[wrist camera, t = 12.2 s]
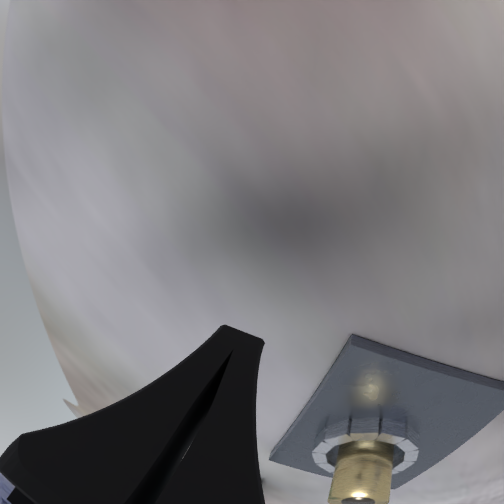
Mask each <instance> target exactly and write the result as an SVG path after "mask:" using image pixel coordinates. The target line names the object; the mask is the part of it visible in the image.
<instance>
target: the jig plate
mask: <svg viewBox="0 0 504 504" xmlns="http://www.w3.org/2000/svg"><path fill="white" fill-rule="evenodd" d="M503 410H504V382H502V381H498V380H495V379H491V378H488V377H484V376H481V375H477V374H474V373H471V372H467V371H464V370H461V369H457V368H454V367H451V366H447V365H444V364H441V363H438V362H435V361H431V360H428V359H425V358H422V357H419V356H416V355H412V354H409V353H406V352H403V351H400V350H397V349H394V348H391V347H388V346H385V345H382V344H379V343H376V342H373V341H370V340H367V339H364V338H361V337H358V336H356V335H353V334H352V335H351V337H350V338H349V340H348V342H347V343H346V345H345V347H344V348H343V350H342V351H341V353H340V355H339V356H338V358H337V359H336V361H335V363H334V364H333V366H332V367H331V369H330V370H329V372H328V374H327V375H326V377H325V378H324V380H323V381H322V383H321V384H320V386H319V387H318V389H317V390H316V392H315V393H314V395H313V396H312V398H311V399H310V400H309V402H308V403H307V405H306V406H305V408H304V409H303V410H302V412H301V413H300V415H299V416H298V417H297V419H296V420H295V422H294V423H293V424H292V426H291V427H290V428H289V430H288V431H287V432H286V434H285V435H284V436H283V438H282V439H281V440H280V442H279V443H278V444H277V446H276V447H275V448H274V449H273V451H272V452H271V454H270V457H269V460H270V461H274V462H277V463H280V464H283V465H286V466H290V467H293V468H297V469H300V470H304V471H307V472H311V473H315V474H319V475H323V476H327V477H331V478H333V475H334V470H335V465H336V460H337V455H338V450H339V445H340V444H344V443H347V442H351V441H366V440H378V441H382V442H387V443H391V444H394V455H393V467H392V478H391V488H390V489H396V488H398V487H400V486H401V485H403V484H405V483H407V482H408V481H410V480H411V479H413V478H415V477H416V476H418V475H420V474H421V473H423V472H424V471H426V470H427V469H429V468H430V467H432V466H433V465H435V464H436V463H438V462H439V461H441V460H442V459H443V458H445V457H446V456H448V455H449V454H450V453H452V452H453V451H454V450H456V449H457V448H459V447H460V446H461V445H462V444H464V443H465V442H466V441H468V440H469V439H470V438H471V437H473V436H474V435H475V434H476V433H478V432H479V431H480V430H481V429H482V428H484V427H485V426H486V425H487V424H488V423H489V422H491V421H492V420H493V419H494V418H495V417H496V416H497V415H498V414H499V413H501V412H502V411H503Z"/></svg>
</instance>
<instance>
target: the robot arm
mask: <svg viewBox="0 0 504 504" xmlns="http://www.w3.org/2000/svg"><path fill="white" fill-rule="evenodd" d="M264 344H265V343H264V341H263V339H261V338H258V337H256V336H253V335H250V334H248V333H245V332H243V331H240V330H237V329H235V328H232V327H230V326H227V325H222V326H220V327H219V328H218V330H217V331H216V332H215V333H214V334H213V335H212V336H211V337H210V338H209V339H208V340H206V341H205V342H204V343H203V344H202V345H201V346H200V347H199V348H198V349H196V350H195V351H194V352H193V353H192V354H190V355H189V356H188V357H187V358H185V359H184V360H183V361H181V362H180V363H179V364H178V365H176V366H175V367H174V368H172V369H171V370H169V371H168V372H167V373H165V374H164V375H162V376H161V377H159V378H158V379H156V380H155V381H153V382H152V383H150V384H149V385H147V386H145V387H144V388H142V389H140V390H139V391H137V392H135V393H133V394H131V395H130V396H128V397H126V398H124V399H122V400H120V401H118V402H116V403H114V404H112V405H110V406H108V407H106V408H103V409H101V410H99V411H96V412H94V413H92V414H89V415H86V416H83V417H81V418H78V419H75V420H72V421H70V422H67V423H64V424H60V425H57V426H53V427H49V428H45V429H42V430H37V431H33V432H28V433H25V434H21V435H20V436H19V437H18V438H17V439H16V440H15V441H14V442H13V443H12V444H11V445H9V447H8V448H7V449H6V451H5V452H4V453H3V454H2V455H1V457H0V504H265V501H264V495H263V489H262V484H261V478H260V470H259V462H258V451H257V437H256V393H257V378H258V370H259V363H260V358H261V353H262V349H263V346H264ZM189 446H190V447H189ZM188 448H189V449H188ZM186 451H187V452H186ZM185 453H186V454H185ZM184 455H185V456H184ZM182 458H183V459H182ZM181 460H182V461H181Z"/></svg>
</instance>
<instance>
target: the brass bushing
mask: <svg viewBox="0 0 504 504" xmlns="http://www.w3.org/2000/svg"><path fill="white" fill-rule="evenodd" d="M393 455H394V444H391V443H387V442H382V441H378V440H366V441H351V442H347V443H344V444H340V445H339V450H338V455H337V460H336V465H335V470H334V475H333V479H332V484H331V488H330V493H329V497H328V503H329V504H388V502H389V496H390V488H391V478H392V467H393Z"/></svg>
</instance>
